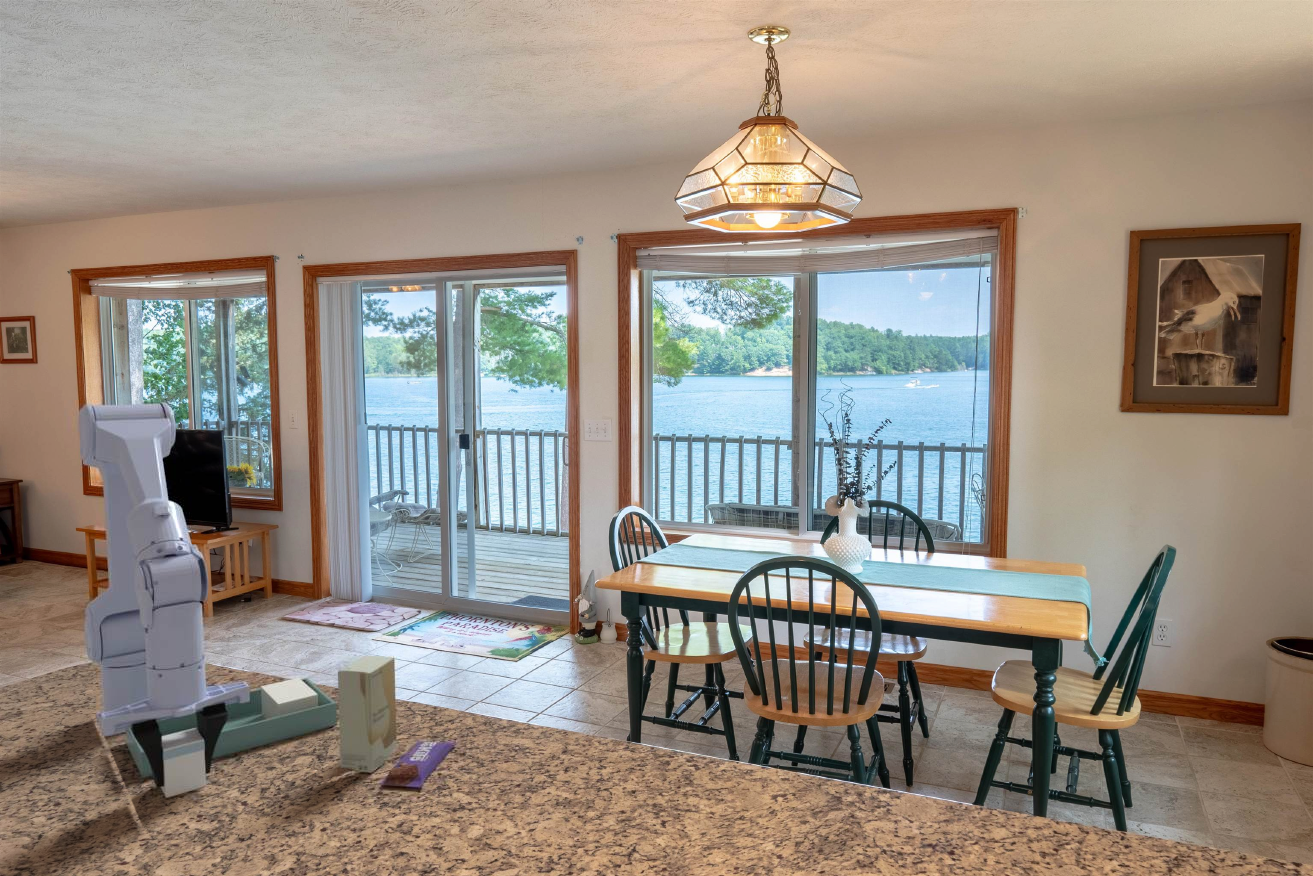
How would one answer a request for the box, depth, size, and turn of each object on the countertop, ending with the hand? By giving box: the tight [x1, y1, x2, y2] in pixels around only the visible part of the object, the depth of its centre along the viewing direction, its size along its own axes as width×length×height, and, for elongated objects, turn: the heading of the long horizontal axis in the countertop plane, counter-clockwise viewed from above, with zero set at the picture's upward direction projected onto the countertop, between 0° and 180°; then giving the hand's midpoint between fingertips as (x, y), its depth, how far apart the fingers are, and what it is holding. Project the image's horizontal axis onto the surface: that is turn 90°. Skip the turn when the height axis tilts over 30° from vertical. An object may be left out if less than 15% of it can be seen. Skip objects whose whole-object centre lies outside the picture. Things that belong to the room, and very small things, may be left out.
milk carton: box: [160, 728, 207, 799], centre depth 96 cm, size 4×4×6 cm
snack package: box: [379, 741, 458, 788], centre depth 102 cm, size 12×2×5 cm
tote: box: [125, 677, 338, 779], centre depth 110 cm, size 12×22×4 cm, turn 130°
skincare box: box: [337, 655, 398, 773], centre depth 103 cm, size 6×4×12 cm
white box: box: [260, 677, 318, 719], centre depth 114 cm, size 8×5×4 cm, turn 40°
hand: (182, 777), depth 96 cm, fingers closed on milk carton, 4 cm apart
